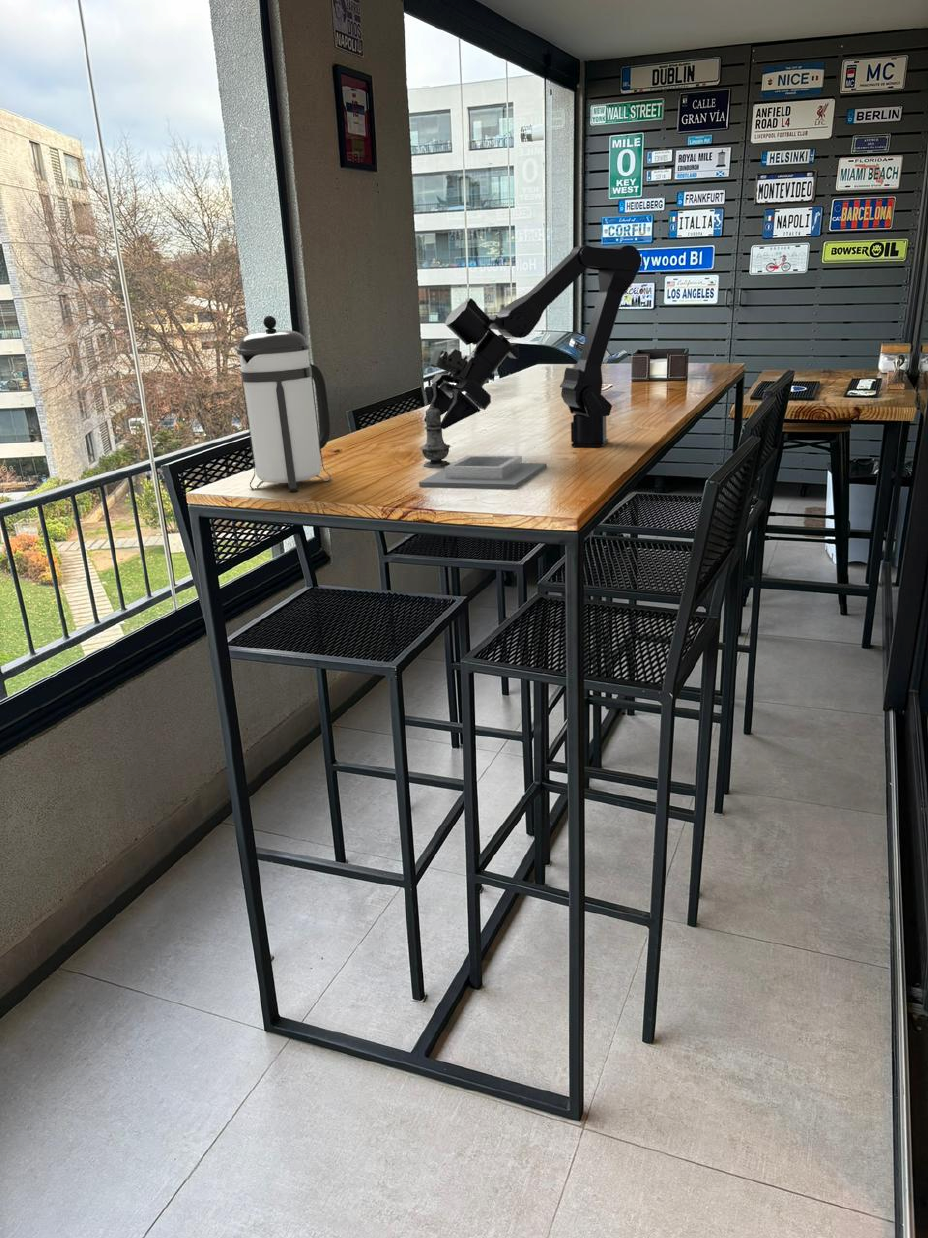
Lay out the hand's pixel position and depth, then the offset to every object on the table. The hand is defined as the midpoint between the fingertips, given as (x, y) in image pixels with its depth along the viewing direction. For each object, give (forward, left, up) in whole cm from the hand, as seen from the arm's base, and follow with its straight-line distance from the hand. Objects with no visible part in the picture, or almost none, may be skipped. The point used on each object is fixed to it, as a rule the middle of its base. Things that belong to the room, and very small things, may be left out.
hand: (433, 424), depth 176 cm
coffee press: (+21, +19, -8) cm, 29 cm away
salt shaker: (0, 0, -8) cm, 8 cm away
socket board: (-14, +10, -8) cm, 19 cm away
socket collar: (-14, +10, -8) cm, 19 cm away
